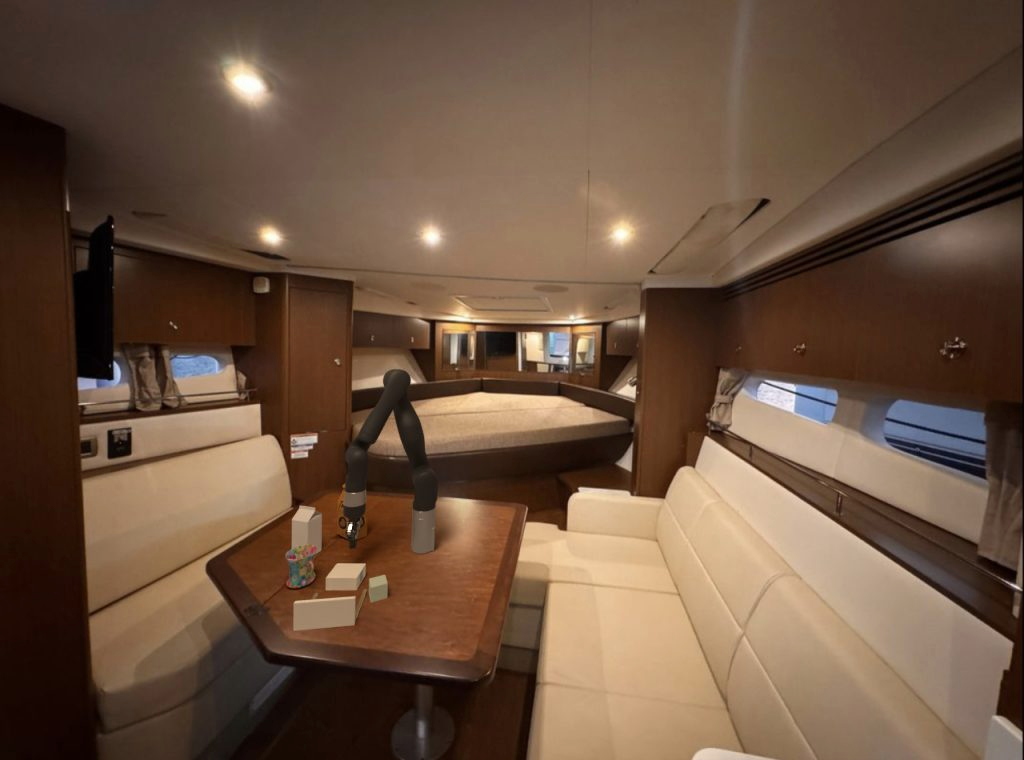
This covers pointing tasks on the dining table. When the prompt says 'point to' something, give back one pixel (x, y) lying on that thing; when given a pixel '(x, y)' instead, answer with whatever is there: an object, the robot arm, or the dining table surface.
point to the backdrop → (324, 613)
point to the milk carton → (307, 528)
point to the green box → (378, 588)
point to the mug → (300, 565)
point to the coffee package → (343, 520)
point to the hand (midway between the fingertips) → (352, 547)
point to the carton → (345, 576)
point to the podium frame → (357, 605)
